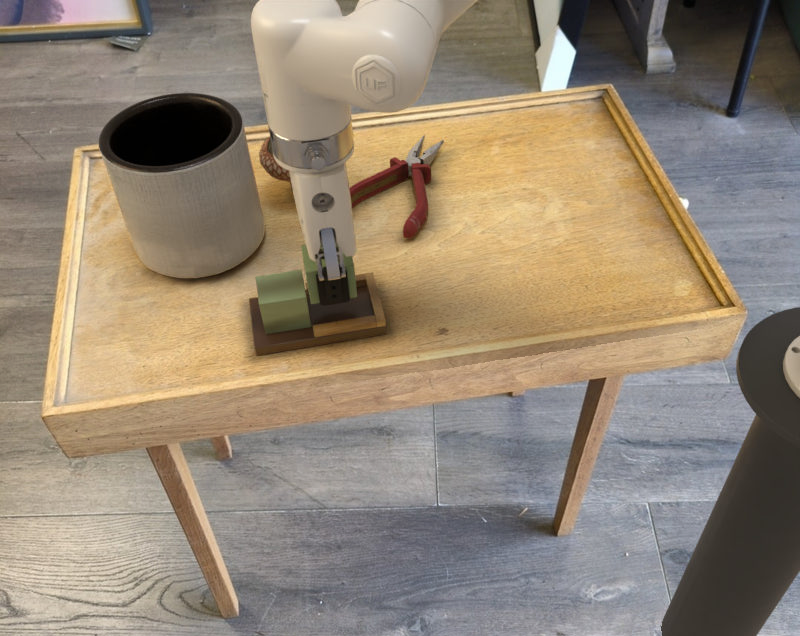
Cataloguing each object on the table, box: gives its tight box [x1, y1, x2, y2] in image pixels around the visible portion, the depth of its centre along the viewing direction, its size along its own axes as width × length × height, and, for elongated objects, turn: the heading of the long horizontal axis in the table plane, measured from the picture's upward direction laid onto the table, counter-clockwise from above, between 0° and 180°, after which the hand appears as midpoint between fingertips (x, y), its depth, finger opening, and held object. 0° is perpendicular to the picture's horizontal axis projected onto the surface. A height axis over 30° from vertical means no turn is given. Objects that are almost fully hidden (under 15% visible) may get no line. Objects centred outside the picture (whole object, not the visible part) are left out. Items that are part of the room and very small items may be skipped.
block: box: [300, 243, 357, 304], centre depth 88 cm, size 4×5×4 cm
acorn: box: [258, 136, 293, 193], centre depth 105 cm, size 8×8×10 cm
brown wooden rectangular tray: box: [248, 269, 388, 356], centre depth 91 cm, size 8×14×6 cm, turn 101°
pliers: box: [349, 134, 445, 240], centre depth 107 cm, size 12×20×3 cm, turn 156°
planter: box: [98, 92, 266, 279], centre depth 97 cm, size 16×16×16 cm
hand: (331, 284), depth 90 cm, fingers closed on block, 4 cm apart
